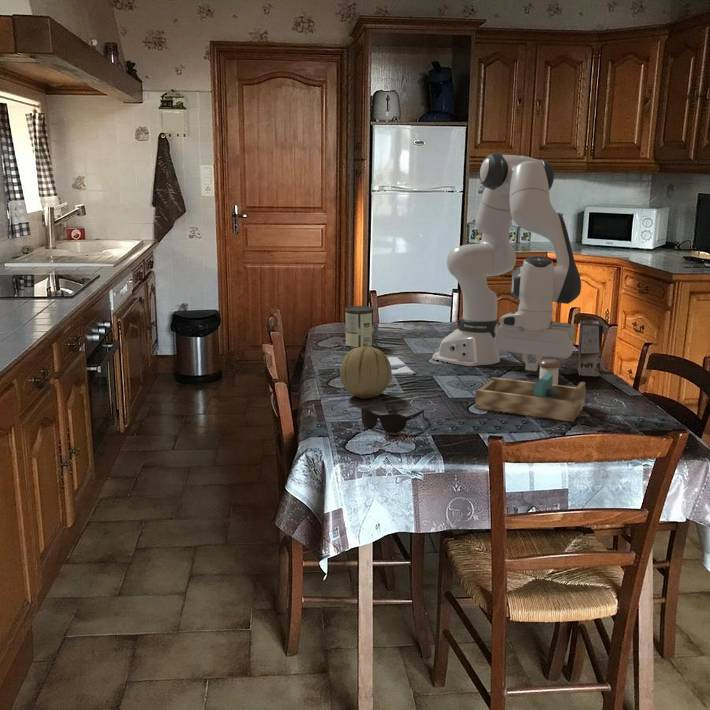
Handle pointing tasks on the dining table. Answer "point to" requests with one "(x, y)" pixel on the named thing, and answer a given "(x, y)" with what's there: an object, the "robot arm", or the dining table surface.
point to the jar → (549, 369)
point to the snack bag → (396, 362)
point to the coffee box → (590, 347)
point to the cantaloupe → (365, 372)
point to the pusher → (545, 387)
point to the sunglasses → (386, 418)
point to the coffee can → (359, 326)
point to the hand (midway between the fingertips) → (531, 370)
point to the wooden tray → (530, 399)
